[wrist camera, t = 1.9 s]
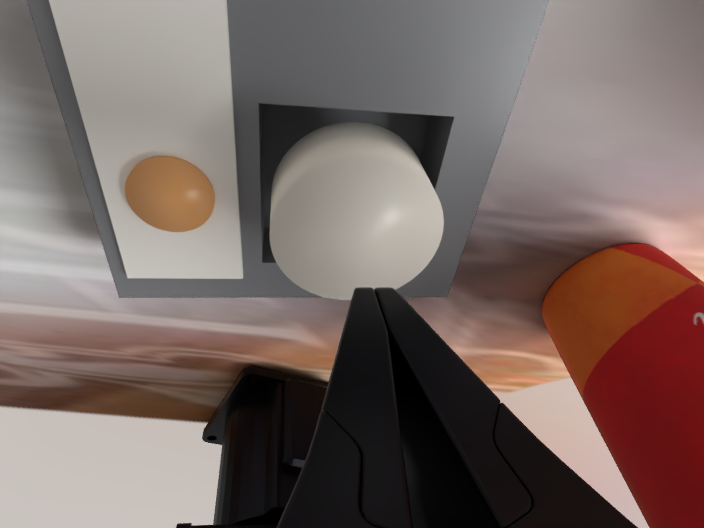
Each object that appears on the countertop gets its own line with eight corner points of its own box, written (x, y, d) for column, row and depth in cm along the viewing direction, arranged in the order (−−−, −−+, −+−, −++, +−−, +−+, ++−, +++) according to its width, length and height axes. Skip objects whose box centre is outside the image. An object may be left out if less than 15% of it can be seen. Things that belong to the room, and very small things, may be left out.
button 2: (408, 257, 14) (423, 300, 13) (271, 255, 14) (270, 300, 12) (440, 127, 11) (464, 161, 10) (271, 116, 11) (268, 151, 9)
